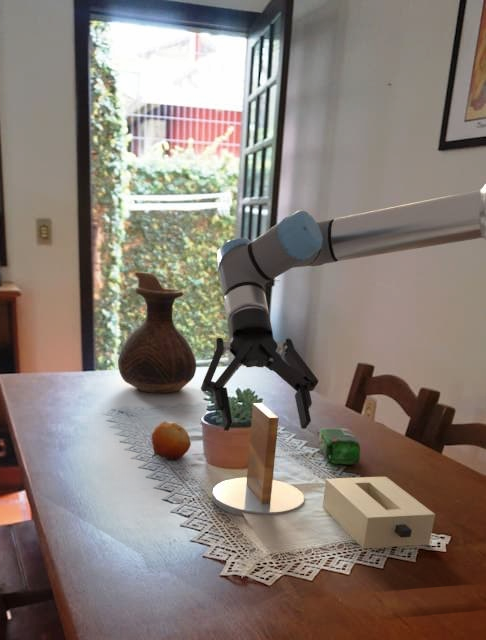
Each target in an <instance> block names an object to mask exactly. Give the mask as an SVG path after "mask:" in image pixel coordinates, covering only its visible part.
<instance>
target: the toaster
mask: <svg viewBox="0 0 486 640" xmlns="http://www.w3.org/2000/svg"><path fill="white" fill-rule="evenodd" d="M322 499H323V500H322V508H323V509H324V510H325V511H326V512H327V513H328V514H329V515H330V516H331V518H332V519H334V520H335V521H336V522H337V523H338V525H340V526H341V527H342V528H343V529H344V530H345V531H346V533H347V534H348V535H350V536H351V538H353V540H354V541H355V542H357V544H358V545H359V546H360V547H361V548H362V549H364V550H365V549H379V548H380V549H382V548H392V547H393V548H395V547H397V548H398V547H412V546H427V545H430V542H431V538H432V533H433V527H434V522H435V518H436V514H435V513H434V512H433V511H432V510H431V509H429V508H427V506H425V505H424V504H422V503H421V502H419V501H418V500H417V499H416V498H415V497H413V496H412V495H411V494H409V493H408V492H407V491H405V490H404V489H403V488H401V487H400V486H399V485H397V483H395V482H394V481H392V480H391V479H390V478H389V477H387V476H363V477H360V476H359V477H337V478H335V477H334V478H325V483H324V492H323V498H322Z"/></svg>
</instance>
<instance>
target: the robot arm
mask: <svg viewBox="0 0 486 640" xmlns="http://www.w3.org/2000/svg"><path fill="white" fill-rule="evenodd" d="M477 239H484V240H485V241H486V183H485V184H484V186H483V187H482V188H481V189H477V190H476V189H475V190H472V191H467V192H461V193H457V194H451V195H446V196H442V197H437V198H432V199H427V200H422V201H417V202H411V203H405V204H402V205H396V206H392V207H386V208H381V209H376V210H372V211H366V212H361V213H356V214H351V215H347V216H341V217H336V218H331V219H325V220H320V221H316V220H315V218H314V217H313V215H311V214H309V212H307V211H306V210H303V209H300V210H297V211H295V212H294V213H292V214H291V215H289V216H286V217H284V218H283V219H282V220H280V221H279V222H278V223H276V224H275V225H274V226H272V227H270V229H268V230H267V231H265V232H264V233H262V234H261V235H259V236H258V237H256V238H255V239H253V240H251V239H248V238H244V237H236V238H235V239H229V240H227V241H225V242H224V243H223V244H222V245H220V247H219V249H218V251H217V256H216V261H217V275H218V277H219V281H220V288H221V292H222V297H223V298H222V299H223V305H224V311H225V317H226V322H227V330H228V331H227V332H228V336H229V341H224V339H223V338H222V337H217V338H216V340H215V343H214V345H213V356H212V359H211V361H210V363H209V366H208V369H207V371H206V373H205V375H204V378H203V381H202V384H201V386H200V391H201V392H203V393H206V392H209V393H210V397H212V398H213V405H214V409H215V411H218V412H219V411H220V414H221V421H222V428H223V431H229V430H230V428H231V426H232V424H233V419H232V412H231V406H230V401H229V395H228V387H225V386H226V385H227V384H228V382H229V381H230V379H231V378H232V377H233V376H234V374H235V373H236V372H237V371H238V370H239V369H240V368H241V366H242V365H243V366H245V367H246V368H254V367H256V368H264V367H266V368H267V369H269V371H273V372H274V373H275V374H276V375H278V377H280V378H281V379H282V380H283V381H284V382H286V383H287V384H288V385H289V386H290V387H291V388H292V389H293V390H295V391H296V393H295V394H294V399H295V404H296V409H297V413H298V419H299V423H300V428H301V430H304V429H307V428H308V426H309V424H311V422H312V419H311V413H310V408H311V406H312V404H313V401H312V396H311V392H313V391H314V390H315V388H316V386H317V385H318V384H319V379H318V377H316V375H315V374H314V373H313V372H312V370H311V368H310V367H309V366H308V365H307V363H306V362H305V361H304V359H303V358H302V357H301V355H300V354H299V353H298V351H297V350H296V349H295V346H294V343H293V341H292V339H291V338H286V339H285V340H284V341H280V342H279V341H278V342H277V341H276V340H275V339H274V333H273V327H272V321H271V317H270V314H269V313H270V311H269V307H268V302H267V296H266V292H265V285H266V284H268V283H269V282H271V281H273V280H274V279H276V278H278V277H279V276H280V275H282V274H284V273H286V272H288V271H289V270H291V269H294V268H302V267H304V268H305V267H318V266H322V265H325V264H331V263H336V262H337V263H338V262H341V261H348V260H354V259H359V258H365V257H366V258H367V257H373V256H378V255H385V254H391V253H397V252H403V251H410V250H416V249H423V248H429V247H434V246H441V245H447V244H453V243H460V242H466V241H471V240H477ZM227 351H229V352H230V354H231V355H232V356H233V357H234V358H233V359H232V360H231V362H230V363H229V364H228V366H227V367H226V368H225V369H224V370H223V372H222V373H221V375H220V376H219V377H218V378H217V380H216V381H213V379H214V376H215V373H216V370H217V369H218V365H219V363H220V361H221V358H222V356H223V355H226V353H227ZM282 356H283V358H282ZM271 359H272V360H271Z"/></svg>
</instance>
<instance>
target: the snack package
mask: <svg viewBox="0 0 486 640" xmlns="http://www.w3.org/2000/svg"><path fill="white" fill-rule="evenodd" d="M317 435H318V441H319V442H318V443H319V446H320V449H321V451H322V453H323V456H324V458H325V459H326V460H327V462H329V463H330V464H333V465H346V466H347V465H349V466H351V465H355V464H356V463H358V462H359V461H360V459H361V458H360V457H361V456H360V455H361V446H360V443H359V441H358V440H357V438H356V436H355V435H354V433H353V432H352V431H351V430H350V429H349V428H348V429H347V428H340V427H323V428H321V429H320V430H319V431H317Z"/></svg>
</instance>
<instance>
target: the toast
mask: <svg viewBox="0 0 486 640" xmlns="http://www.w3.org/2000/svg"><path fill="white" fill-rule="evenodd" d="M251 409H252V410H251V422H250V423H251V424H250V437H249V446H248V449H249V450H248V461H247V472H246V478H247V486H248V487H249V488H250V490H251V491H252V492H253V493H254V495H255V496H256V497H257V499H258V500H259V501H260V502H261V504H270V502H271V492H272V482H273V480H274V471H275V461H276V449H277V441H278V440H277V439H278V430H279V429H278V428H279V419H280V418H279V417H278V416H277V415H276V414H275V413H274V412H273V411H272V410H271V409H269V408H268V407H267V406H266V405H264V404H263V403H262V402H252V408H251Z"/></svg>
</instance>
